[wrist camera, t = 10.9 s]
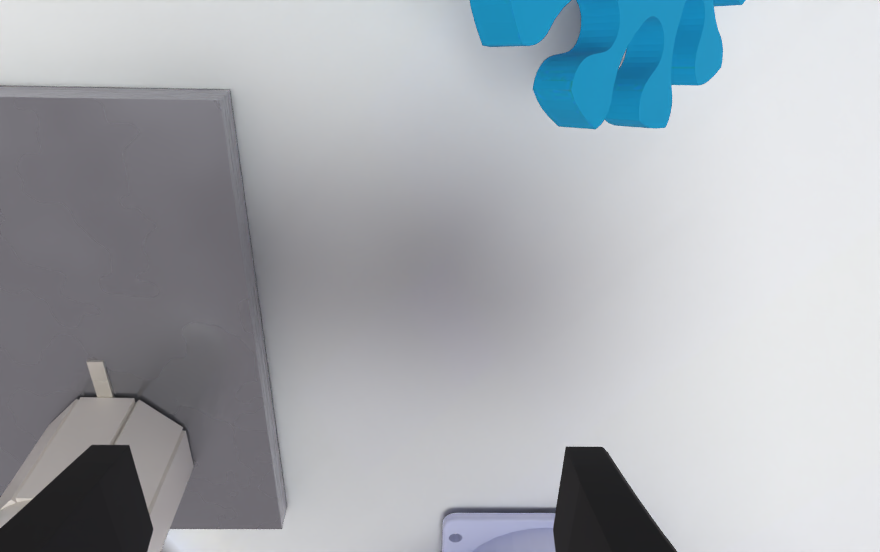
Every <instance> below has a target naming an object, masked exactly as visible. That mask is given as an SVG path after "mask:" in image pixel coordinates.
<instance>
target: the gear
mask: <svg viewBox="0 0 880 552" xmlns="http://www.w3.org/2000/svg"><path fill="white" fill-rule="evenodd" d="M570 1H571V0H470V4H471V9H472V13H473V17H474V21H475V24H476V27H477V30H478V33H479V36H480V39H481V42H482V45H483V46H488V47H500V46H530V45H535V44H537V43H538V42H540V41H541V40H542V39H543V38H544V37H545V36H546V35H547V33H548V31H549V29H550V27H551V26H552V24H553V22H554V20H555V18H556V17H557V16H558V14H559V13H560V12H561V10H562V9H563V8H564V7H565V6H566V5H567V4H568V3H569V2H570ZM576 1H577V3H578V5H579V8H580V13H581V30H580V34H579V38H578V40H577V43H576V44H575V46H574V47H573V48H572V49H571V50H570V51H568V52H566V53H562V54H557V55H553V56H550V57H548V58H547V59H546V60H545V61H544V62H543V63H542V64H541V66H540V68H539V70H538V72H537V74H536V77H535V80H534V85H533V90H534V93H535V96H536V98H537V100H538V102H539V104H540V106H541V107H542V109H543V110H544V111H545V113H546V114H547V115H548V116H549V117H550V118H551V119H552V120H553V121H554V122H555V123H556V124H557V125H558V126H561V127H575V128H588V129H596V128H598V127H599V126H600V125H601V124H602V122H603V121H604V119H605V120H606V121H607V122H608V123H610V124H613V125H617V126H630V127H644V128H665V127H666V125H667V123H668V120H669V116H670V113H671V107H672V88H671V85H702V84H704V83H706V82H707V81H709V80H710V79H711V78H712V77H713V76H714V75H715V74H716V73H717V71H718V70H719V69H720V68H721V64H722V56H723V47H722V40H721V36H720V34H719V31H718V28H717V24H716V19H715V13H714V6H728V5H742V4H743V3H744V1H745V0H576ZM626 49H627V51H626ZM625 51H626V55H625V59H624V61H623V63H622V65H621V67H620V68H619V65H620V63H621V60H622V57H623V55H624V53H625ZM618 68H619V69H618Z"/></svg>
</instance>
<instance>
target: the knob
mask: <svg viewBox="0 0 880 552" xmlns="http://www.w3.org/2000/svg"><path fill="white" fill-rule="evenodd" d="M182 429H183V427H182V426H180V425H179V424H177V423H175V422H174V421H172V420H171V419H169V418H168V417H166V416H164V415H163V414H161V413H160V412H158V411H157V410H155V409H153V408H152V407H150V406H149V405H147V404H146V403H144V402H142V401H141V400H138V401H137V402H135V398H100V397H80V399H79V400H78V399H76V400H74V401H73V402H72V403H71V404H70V405H69V406H68V407H67V408H66V409H65V410H64V411H63V412H62V413H61V414H60V415H59V416H58V417H57V418H56V419H55V420H54V421H53V422H52V423H51V424H49V425H48V427H47V428H46V430H45V431H44V433H43V434H42V436H41V437H40V439H39V440H38V442H37V443H36V445H35V446H34V448H33V449H32V451H31V452H30V454H29V455H28V457H27V458H26V460H25V461H24V463H23V464H22V466H21V467H20V469H19V470H18V472H17V473H16V475H15V476H14V478H13V479H12V481H11V482H10V484H9V485H8V487H7V488H6V490H5V491H4V493H3V494H2V496H1V497H0V528H1V527H2V526H3V525H4V524H6V523H7V522H8V521H9V520H10V519H11V518H12V517H13V516H14V515H16V514H17V513H18V512H19V511H20V510H21V509H22V508H23V507H24V506H25V505H26V504H28V503H29V502H30V501H31V500H32V499H33V498H34V497H35V496H36V495H37V494H38V493H40V492H41V491H42V490H43V489H44V488H45V487H46V486H47V485H48V484H49V483H50V482H51V481H53V480H54V479H55V478H56V477H57V476H58V475H59V474H60V473H61V472H62V471H63V470H65V469H66V468H67V467H68V466H69V465H70V464H71V463H72V462H73V461H74V460H75V459H77V458H78V457H79V456H80V455H81V454H82V453H83V452H84V451H85V450H87V449H88V448H89V447H90V446H91V445H129V446H130V449H131V453H132V456H133V460H134V463H135V467H136V470H137V474H138V477H139V480H140V484H141V487H142V491H143V494H144V498H145V501H146V505H147V508H148V512H149V515H150V519H151V522H152V526H153V533H152V537H151V540H150V544H149V547H148V551H147V552H161V550H162V548H163V545H164V542H165V540H166V537H167V535H168V532H169V529H170V527H171V524H172V522H173V519H174V516H175V514H176V511H177V509H178V506H179V503H180V501H181V498H182V496H183V493H184V491H185V488H186V485H187V483H188V480H189V478H190V475H191V472H192V470H193V467H194V465H193V461H192V456H191V452H190V447H189V443H188V438H187V434H186V431H183V430H182Z"/></svg>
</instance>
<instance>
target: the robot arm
mask: <svg viewBox="0 0 880 552" xmlns="http://www.w3.org/2000/svg"><path fill="white" fill-rule="evenodd" d="M152 533H153V526H152V522H151V519H150V515H149V512H148V508H147V505H146V501H145V498H144V494H143V491H142V487H141V484H140V480H139V477H138V474H137V470H136V467H135V463H134V460H133V456H132V453H131V449H130V446H129V445H91V446H90V447H89V448H88V449H87V450H85V451H84V452H83V453H82V454H81V455H80V456H79V457H78V458H77V459H75V460H74V461H73V462H72V463H71V464H70V465H69V466H68V467H67V468H66V469H65V470H63V471H62V472H61V473H60V474H59V475H58V476H57V477H56V478H55V479H54V480H53V481H51V482H50V483H49V484H48V485H47V486H46V487H45V488H44V489H43V490H42V491H41V492H40V493H38V494H37V495H36V496H35V497H34V498H33V499H32V500H31V501H30V502H29V503H28V504H26V505H25V506H24V507H23V508H22V509H21V510H20V511H19V512H18V513H17V514H16V515H14V516H13V517H12V518H11V519H10V520H9V521H8V522H7V523H6V524H4V525H3V526H2V527H1V528H0V552H147V551H148V547H149V544H150V540H151V537H152ZM455 533H457V534H455ZM442 552H677V551H676V549H675V548H674V547H673V546H672V544H671V543H670V542H669V540H668V539H667V538H666V536H665V535H664V534H663V532H662V531H661V530H660V528H659V527H658V526H657V524H656V523H655V521H654V520H653V519H652V517H651V516H650V515H649V513H648V512H647V510H646V509H645V507H644V506H643V505H642V503H641V502H640V500H639V499H638V497H637V496H636V494H635V493H634V492H633V490H632V489H631V487H630V486H629V484H628V483H627V481H626V480H625V478H624V477H623V475H622V474H621V472H620V471H619V469H618V467H617V466H616V464H615V463H614V461H613V460H612V458H611V457H610V455H609V453H608V452H607V451H606V450H605V449H604V448H603V447H566V450H565V456H564V462H563V469H562V475H561V481H560V488H559V494H558V500H557V507H556V513H451V514H449V515H447V516H446V517H445V518H444V520H443V530H442Z"/></svg>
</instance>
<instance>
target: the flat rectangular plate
mask: <svg viewBox="0 0 880 552" xmlns="http://www.w3.org/2000/svg"><path fill="white" fill-rule="evenodd" d="M80 397H100V398H135V402H137V401H138V400H141V401H142V402H144V403H146V404H147V405H149V406H150V407H152V408H153V409H155V410H157V411H158V412H160V413H161V414H163V415H164V416H166V417H168V418H169V419H171V420H172V421H174V422H175V423H177V424H179V425H180V426H182V427H183V429H182V430H183V431H186V434H187V438H188V443H189V447H190V452H191V456H192V461H193V465H194V467H193V470H192V472H191V475H190V478H189V480H188V483H187V485H186V488H185V491H184V493H183V496H182V498H181V501H180V503H179V506H178V509H177V511H176V514H175V516H174V519H173V522H172V524H171V527H170V529H282V527H283V522H284V518H285V513H286V509H287V505H286V497H285V490H284V483H283V475H282V468H281V461H280V453H279V446H278V439H277V431H276V424H275V417H274V409H273V402H272V395H271V387H270V380H269V373H268V365H267V358H266V351H265V343H264V336H263V329H262V321H261V314H260V307H259V299H258V292H257V285H256V277H255V270H254V263H253V255H252V248H251V241H250V233H249V226H248V219H247V211H246V204H245V197H244V189H243V182H242V175H241V167H240V160H239V153H238V145H237V138H236V131H235V123H234V116H233V109H232V101H231V94H230V90H209V89H149V88H90V87H31V86H0V497H1V496H2V494H3V493H4V491H5V490H6V488H7V487H8V485H9V484H10V482H11V481H12V479H13V478H14V476H15V475H16V473H17V472H18V470H19V469H20V467H21V466H22V464H23V463H24V461H25V460H26V458H27V457H28V455H29V454H30V452H31V451H32V449H33V448H34V446H35V445H36V443H37V442H38V440H39V439H40V437H41V436H42V434H43V433H44V431H45V430H46V428H47V427H48V425H49V424H51V423H52V422H53V421H54V420H55V419H56V418H57V417H58V416H59V415H60V414H61V413H62V412H63V411H64V410H65V409H66V408H67V407H68V406H69V405H70V404H71V403H72V402H73V401H74V400H76V399H78V400H79V399H80Z"/></svg>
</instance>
